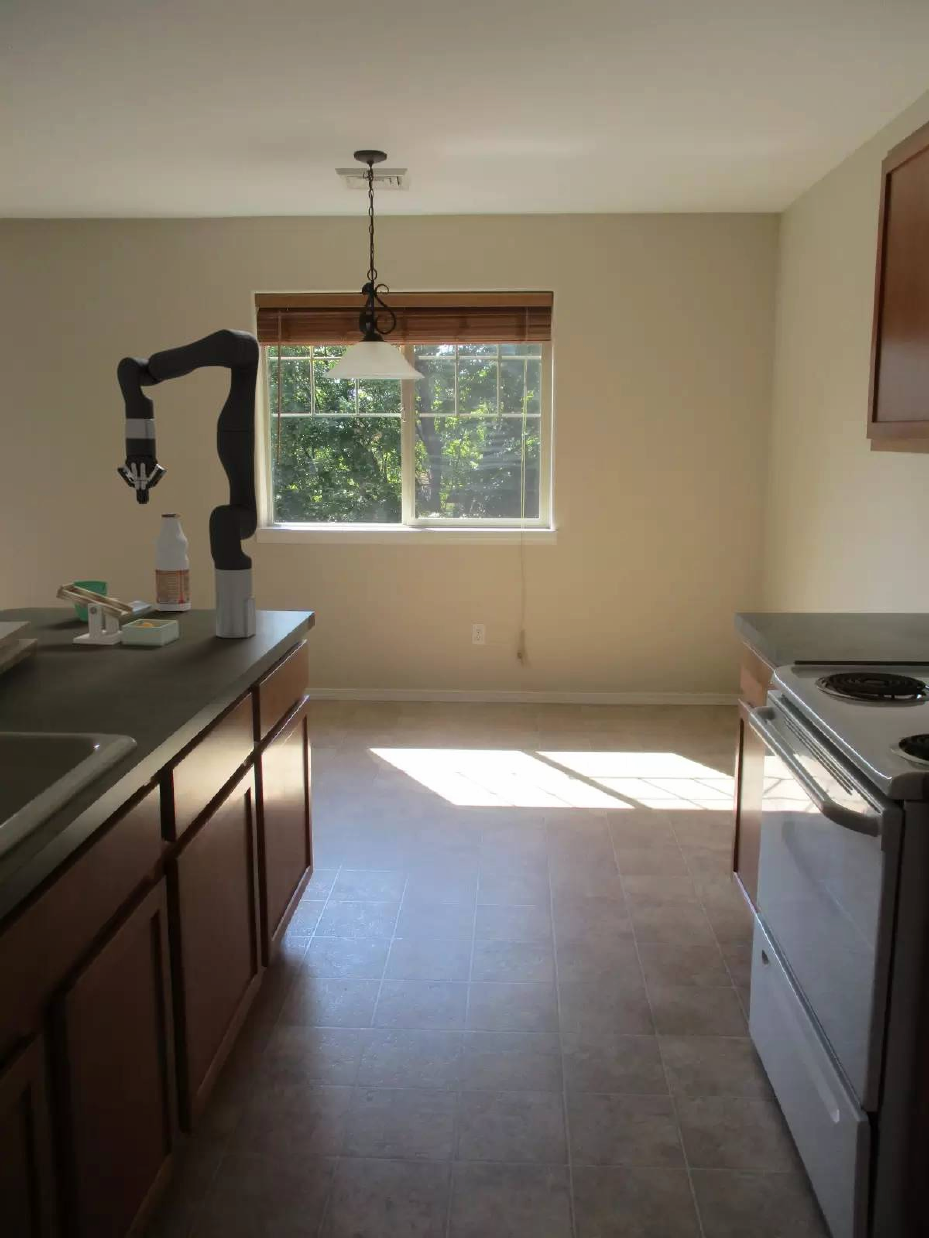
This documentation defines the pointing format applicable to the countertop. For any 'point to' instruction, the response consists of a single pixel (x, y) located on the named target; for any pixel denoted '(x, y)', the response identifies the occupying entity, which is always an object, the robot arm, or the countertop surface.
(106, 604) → the lever
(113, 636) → the stand
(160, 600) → the fruit juice
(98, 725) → the countertop surface
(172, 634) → the pale green tray
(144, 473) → the robot arm
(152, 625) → the ball
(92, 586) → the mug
